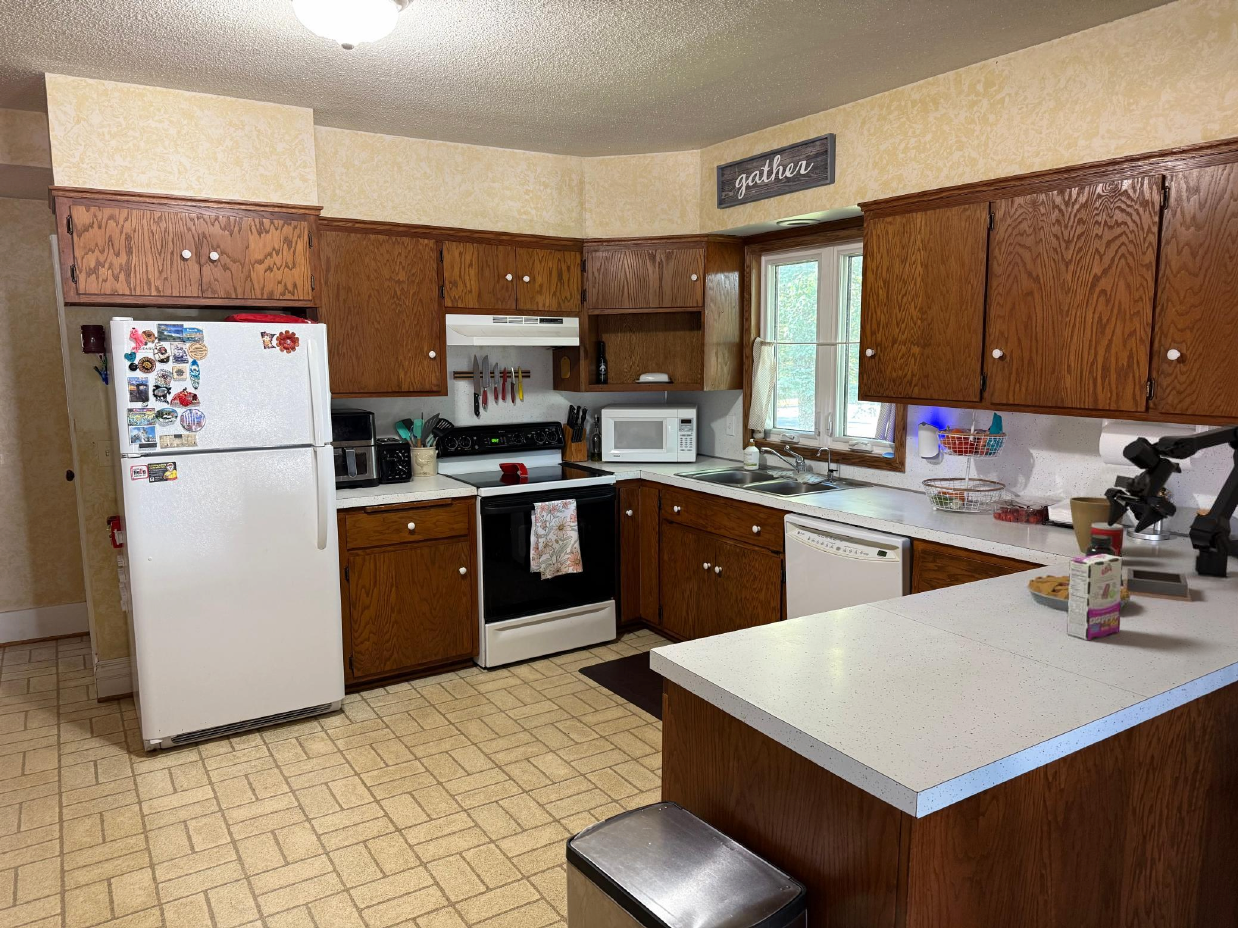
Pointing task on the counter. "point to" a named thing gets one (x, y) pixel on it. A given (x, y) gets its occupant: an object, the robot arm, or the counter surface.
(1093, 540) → the supplement bottle
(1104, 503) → the plant pot
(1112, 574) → the candy bar box
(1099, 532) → the canned food
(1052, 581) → the pie
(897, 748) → the counter surface
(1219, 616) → the counter surface
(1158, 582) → the grey square tray
